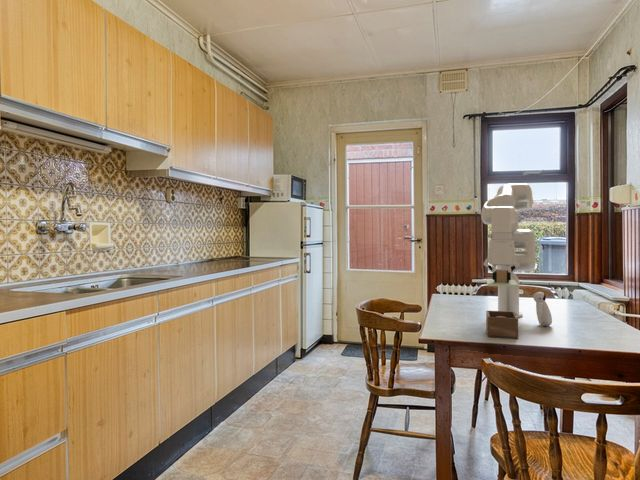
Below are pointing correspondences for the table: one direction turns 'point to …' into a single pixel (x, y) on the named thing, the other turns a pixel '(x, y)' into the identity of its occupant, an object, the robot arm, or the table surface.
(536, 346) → the table surface
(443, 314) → the table surface
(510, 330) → the box
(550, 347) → the table surface
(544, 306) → the toy
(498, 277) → the lid
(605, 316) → the table surface
